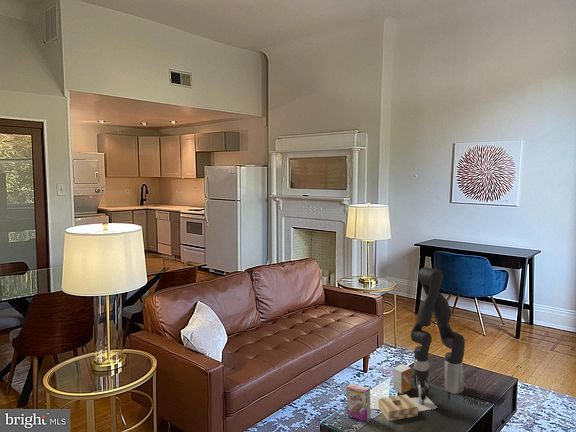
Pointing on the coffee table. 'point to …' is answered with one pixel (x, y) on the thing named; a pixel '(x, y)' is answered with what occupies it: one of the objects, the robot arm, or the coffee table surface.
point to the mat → (426, 406)
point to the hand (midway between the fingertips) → (421, 397)
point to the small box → (402, 378)
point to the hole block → (398, 407)
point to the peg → (420, 397)
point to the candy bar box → (358, 402)
